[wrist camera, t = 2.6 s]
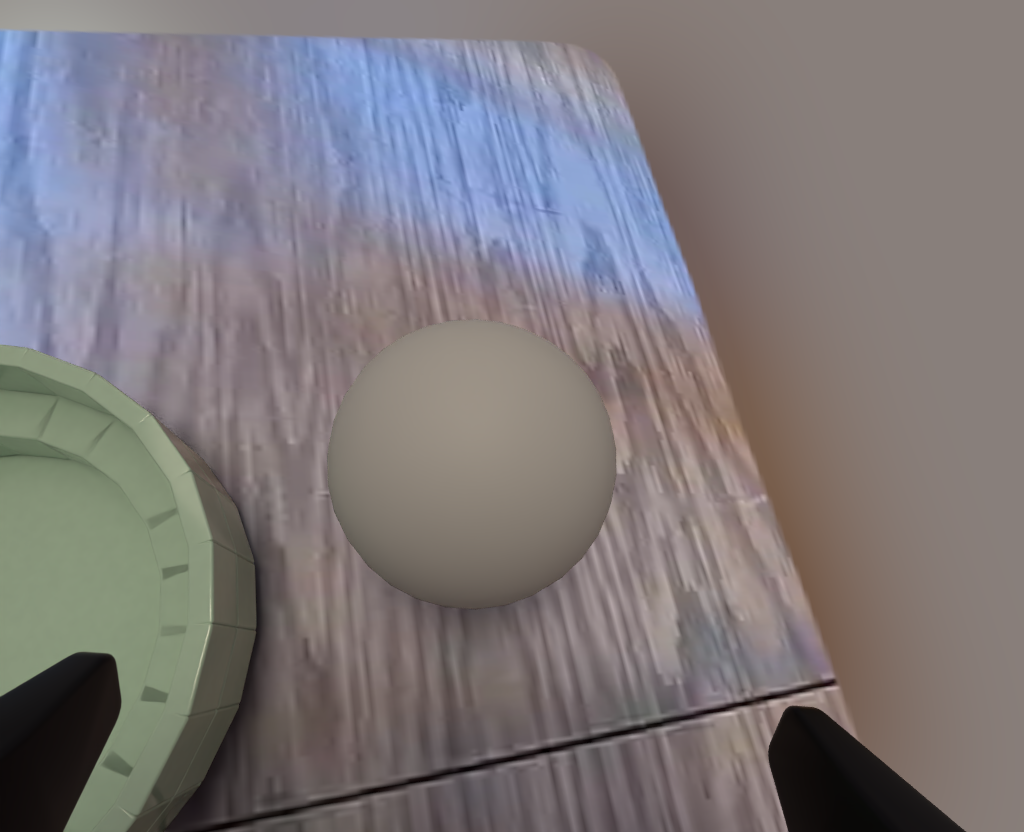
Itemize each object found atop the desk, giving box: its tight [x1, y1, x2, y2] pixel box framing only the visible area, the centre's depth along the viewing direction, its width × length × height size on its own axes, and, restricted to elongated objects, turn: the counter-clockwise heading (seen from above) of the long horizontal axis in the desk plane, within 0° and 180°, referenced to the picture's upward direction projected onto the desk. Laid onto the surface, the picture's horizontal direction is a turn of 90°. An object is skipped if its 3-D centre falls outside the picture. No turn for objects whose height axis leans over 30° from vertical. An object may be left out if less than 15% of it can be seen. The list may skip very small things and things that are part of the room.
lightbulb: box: [327, 319, 616, 609], centre depth 15 cm, size 6×6×11 cm
